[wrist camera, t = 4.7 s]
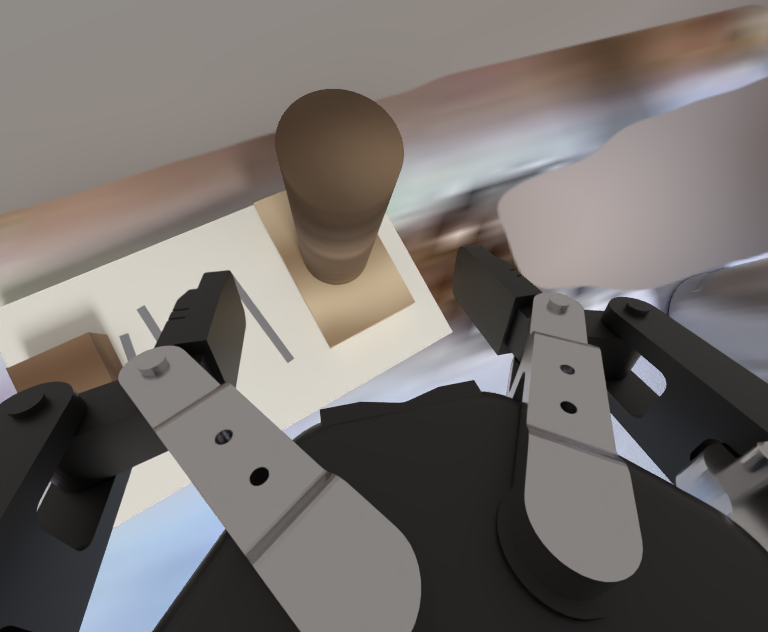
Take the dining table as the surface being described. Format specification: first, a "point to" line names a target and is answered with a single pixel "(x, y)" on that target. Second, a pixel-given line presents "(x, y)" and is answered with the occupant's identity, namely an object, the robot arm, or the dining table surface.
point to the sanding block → (337, 210)
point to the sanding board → (262, 334)
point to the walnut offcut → (70, 364)
